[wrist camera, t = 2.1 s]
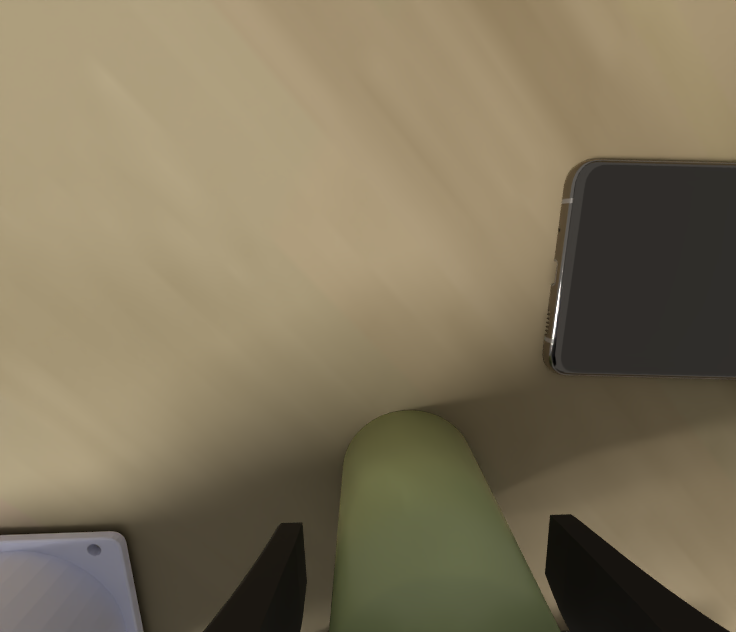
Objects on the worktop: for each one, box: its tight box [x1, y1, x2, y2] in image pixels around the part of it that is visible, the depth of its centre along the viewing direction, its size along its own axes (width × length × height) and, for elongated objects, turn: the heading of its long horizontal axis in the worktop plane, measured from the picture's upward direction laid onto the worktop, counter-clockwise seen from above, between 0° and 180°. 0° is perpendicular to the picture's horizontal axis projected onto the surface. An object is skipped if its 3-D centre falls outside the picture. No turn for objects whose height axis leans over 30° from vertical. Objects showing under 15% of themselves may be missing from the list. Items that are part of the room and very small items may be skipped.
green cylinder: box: [329, 410, 561, 632], centre depth 11 cm, size 5×5×7 cm
